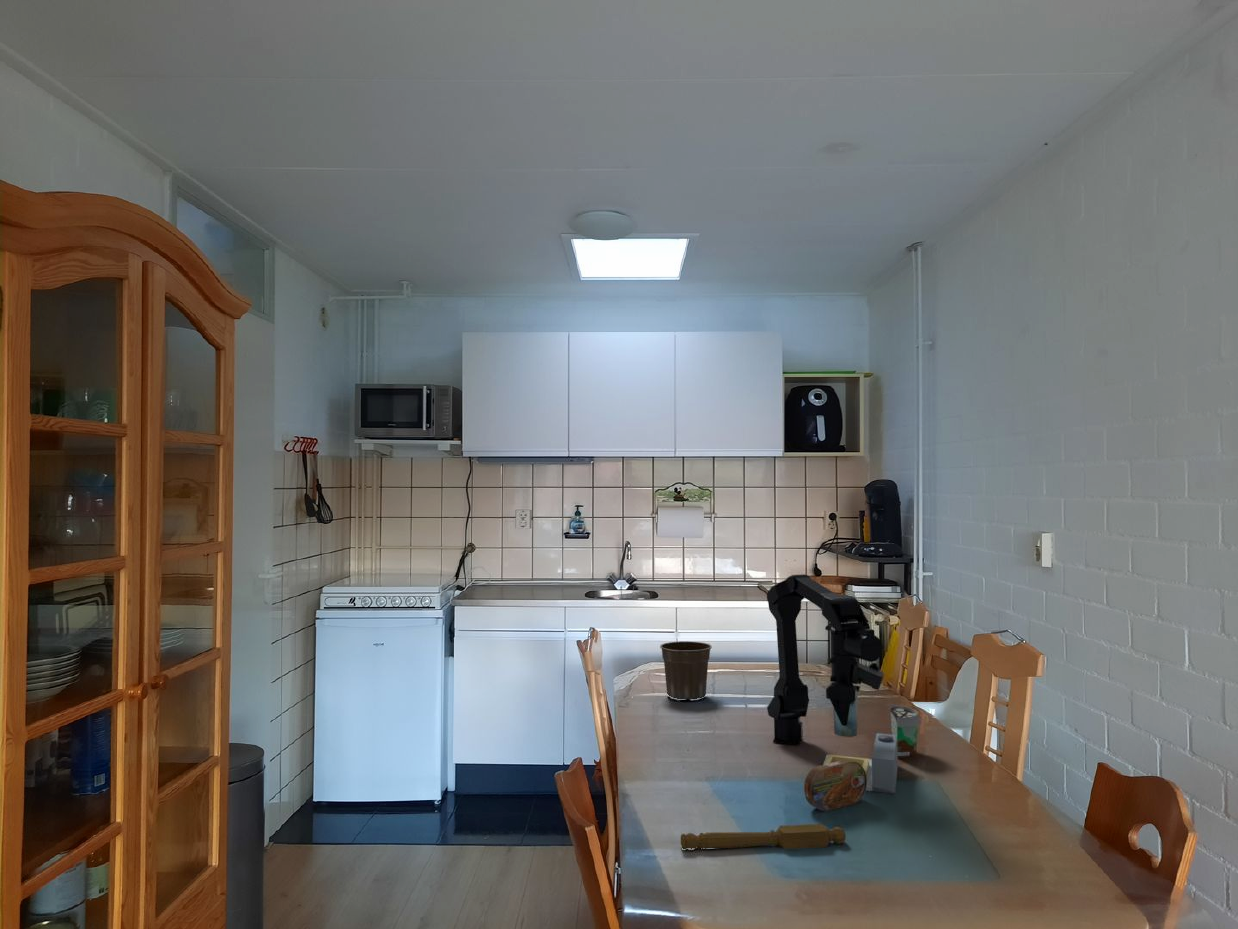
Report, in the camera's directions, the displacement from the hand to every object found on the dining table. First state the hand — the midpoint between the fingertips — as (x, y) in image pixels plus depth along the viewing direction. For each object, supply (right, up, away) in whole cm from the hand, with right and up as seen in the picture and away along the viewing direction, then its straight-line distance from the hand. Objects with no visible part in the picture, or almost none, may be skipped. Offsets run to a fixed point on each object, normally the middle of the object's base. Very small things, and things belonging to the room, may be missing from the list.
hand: (845, 722), depth 175 cm
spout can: (0, -3, 0) cm, 2 cm away
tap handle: (-25, -11, -36) cm, 45 cm away
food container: (+19, -12, +12) cm, 26 cm away
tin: (-7, -11, -18) cm, 22 cm away
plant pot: (-30, -15, +67) cm, 75 cm away
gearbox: (+3, -11, -1) cm, 12 cm away
